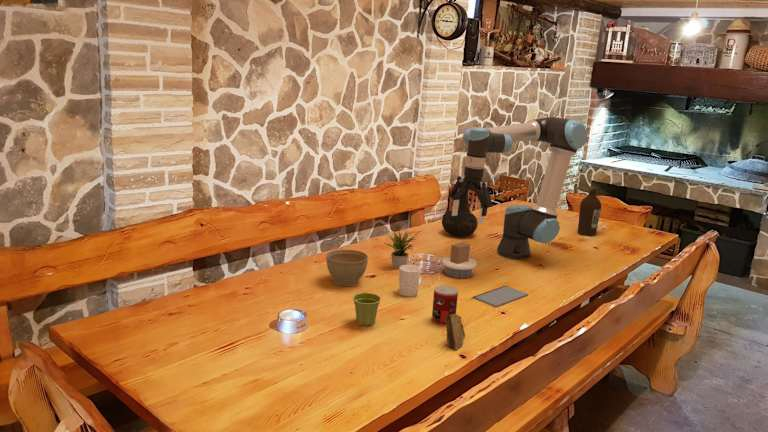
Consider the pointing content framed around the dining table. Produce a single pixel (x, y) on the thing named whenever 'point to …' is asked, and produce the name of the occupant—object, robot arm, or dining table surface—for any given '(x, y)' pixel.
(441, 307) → the canned food
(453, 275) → the bowl
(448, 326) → the rock
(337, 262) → the planter bowl
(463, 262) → the lid
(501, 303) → the mat
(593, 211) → the olive oil
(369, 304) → the plant pot
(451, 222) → the black vase
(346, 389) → the dining table surface
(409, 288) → the white cup
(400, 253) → the house plant
